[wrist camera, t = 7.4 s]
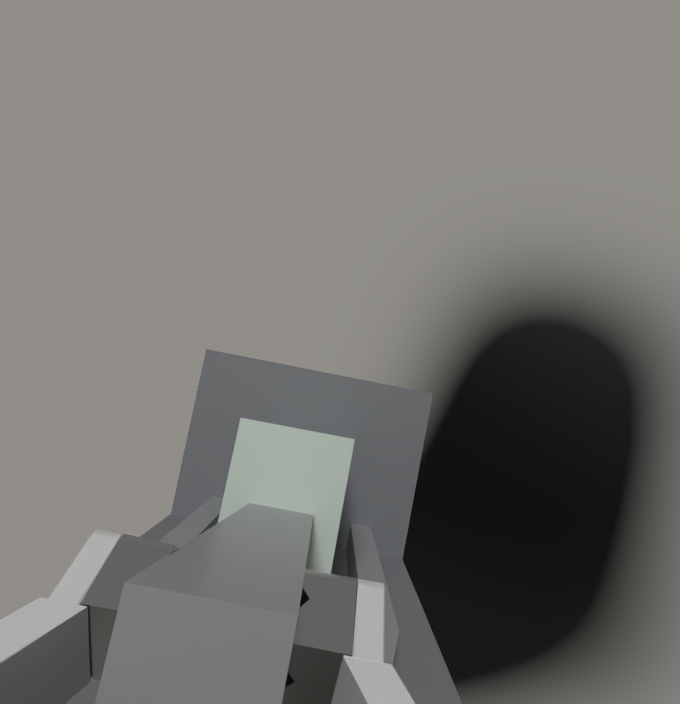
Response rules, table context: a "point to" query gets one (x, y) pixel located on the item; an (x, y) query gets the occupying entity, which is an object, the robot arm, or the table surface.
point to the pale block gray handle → (233, 579)
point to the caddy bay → (360, 496)
